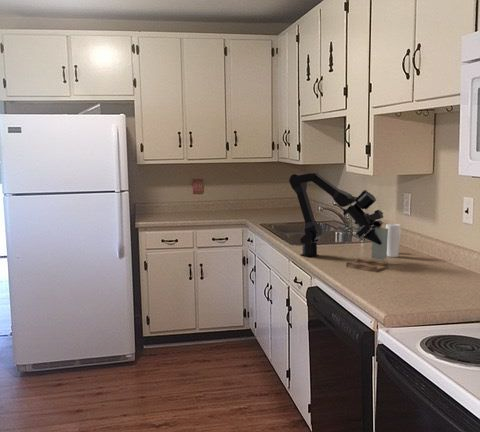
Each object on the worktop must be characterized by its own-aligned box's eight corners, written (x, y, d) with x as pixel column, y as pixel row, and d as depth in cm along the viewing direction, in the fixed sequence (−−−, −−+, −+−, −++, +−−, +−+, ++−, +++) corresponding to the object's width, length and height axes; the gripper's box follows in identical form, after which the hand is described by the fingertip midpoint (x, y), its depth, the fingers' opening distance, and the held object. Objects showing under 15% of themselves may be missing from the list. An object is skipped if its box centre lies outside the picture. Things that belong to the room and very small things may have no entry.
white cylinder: (388, 254, 259) (389, 223, 257) (402, 256, 255) (403, 224, 253) (382, 256, 254) (383, 224, 252) (396, 258, 250) (397, 226, 248)
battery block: (371, 258, 238) (373, 227, 236) (375, 256, 242) (376, 225, 241) (382, 259, 235) (384, 228, 234) (386, 257, 239) (388, 226, 238)
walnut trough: (346, 266, 233) (346, 262, 233) (358, 263, 240) (358, 258, 240) (375, 272, 224) (375, 267, 223) (387, 267, 231) (387, 263, 230)
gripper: (364, 206, 230) (389, 234, 226) (379, 202, 246) (402, 228, 241) (346, 223, 235) (370, 251, 231) (361, 218, 251) (384, 244, 246)
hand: (382, 243), depth 237 cm, fingers closed on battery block, 5 cm apart
